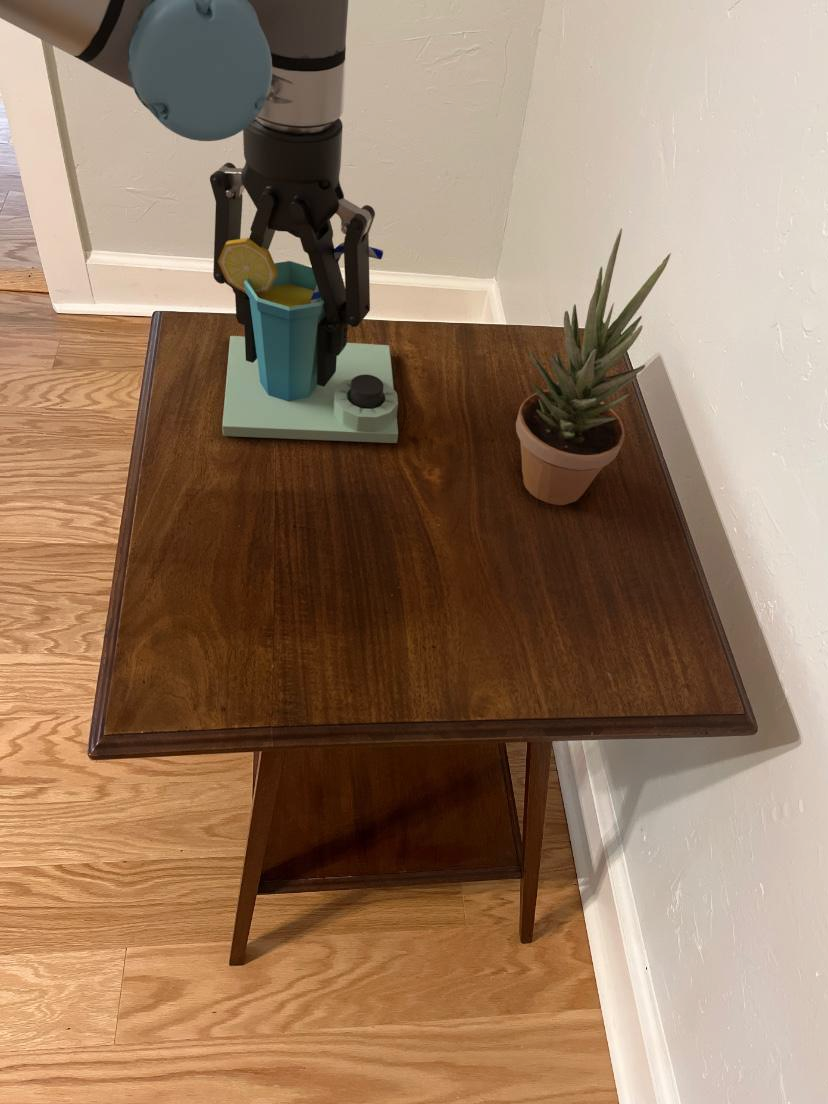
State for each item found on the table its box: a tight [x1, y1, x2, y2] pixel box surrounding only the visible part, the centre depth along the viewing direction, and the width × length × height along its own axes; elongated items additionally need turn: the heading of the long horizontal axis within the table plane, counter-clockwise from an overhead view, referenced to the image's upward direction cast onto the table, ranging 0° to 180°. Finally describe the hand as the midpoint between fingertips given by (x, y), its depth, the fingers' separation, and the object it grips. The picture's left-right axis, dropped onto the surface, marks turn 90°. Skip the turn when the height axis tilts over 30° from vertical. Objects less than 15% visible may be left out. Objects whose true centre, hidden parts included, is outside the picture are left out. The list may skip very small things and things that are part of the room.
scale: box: [221, 335, 399, 444], centre depth 88 cm, size 16×14×3 cm
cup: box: [218, 237, 384, 401], centre depth 82 cm, size 14×8×15 cm, turn 96°
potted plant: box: [515, 227, 672, 506], centre depth 76 cm, size 10×10×25 cm
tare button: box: [350, 375, 383, 409], centre depth 84 cm, size 3×3×2 cm
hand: (291, 365), depth 86 cm, fingers open, 7 cm apart
